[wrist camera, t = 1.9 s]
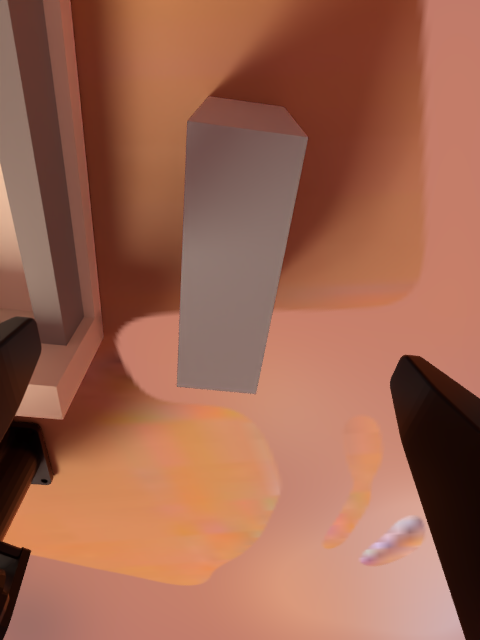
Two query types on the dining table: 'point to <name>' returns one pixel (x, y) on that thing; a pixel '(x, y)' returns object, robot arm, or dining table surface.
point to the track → (46, 201)
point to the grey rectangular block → (234, 238)
